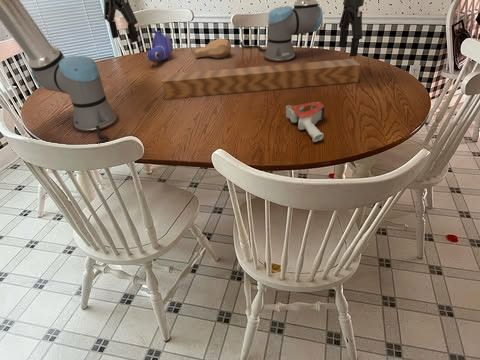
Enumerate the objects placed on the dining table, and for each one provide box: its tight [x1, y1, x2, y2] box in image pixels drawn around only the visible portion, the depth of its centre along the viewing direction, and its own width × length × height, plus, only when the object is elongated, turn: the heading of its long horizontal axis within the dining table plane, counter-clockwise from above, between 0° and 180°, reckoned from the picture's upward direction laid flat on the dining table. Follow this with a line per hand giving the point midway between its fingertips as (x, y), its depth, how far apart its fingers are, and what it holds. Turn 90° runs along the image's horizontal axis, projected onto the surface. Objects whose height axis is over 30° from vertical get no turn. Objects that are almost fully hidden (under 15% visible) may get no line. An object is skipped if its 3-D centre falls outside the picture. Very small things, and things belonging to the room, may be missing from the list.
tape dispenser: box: [285, 100, 325, 143], centre depth 121 cm, size 18×5×20 cm
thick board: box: [161, 58, 361, 100], centre depth 151 cm, size 82×8×8 cm, turn 95°
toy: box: [146, 29, 174, 67], centre depth 185 cm, size 10×17×25 cm
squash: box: [194, 37, 232, 59], centre depth 188 cm, size 11×20×9 cm, turn 92°
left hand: (124, 39), depth 151 cm, fingers open, 13 cm apart
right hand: (347, 51), depth 148 cm, fingers open, 13 cm apart
